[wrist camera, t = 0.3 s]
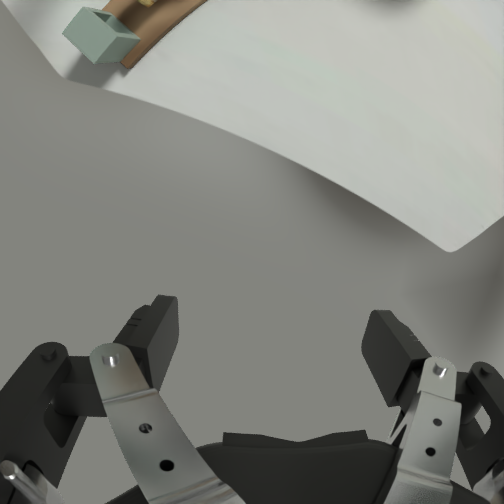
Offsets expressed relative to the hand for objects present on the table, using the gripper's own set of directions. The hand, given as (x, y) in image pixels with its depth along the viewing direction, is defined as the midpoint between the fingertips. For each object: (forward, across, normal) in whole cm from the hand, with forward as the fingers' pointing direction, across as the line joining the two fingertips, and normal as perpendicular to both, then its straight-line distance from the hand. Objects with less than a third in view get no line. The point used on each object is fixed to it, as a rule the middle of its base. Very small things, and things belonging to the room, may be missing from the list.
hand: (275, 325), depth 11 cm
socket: (+22, +20, -23) cm, 38 cm away
